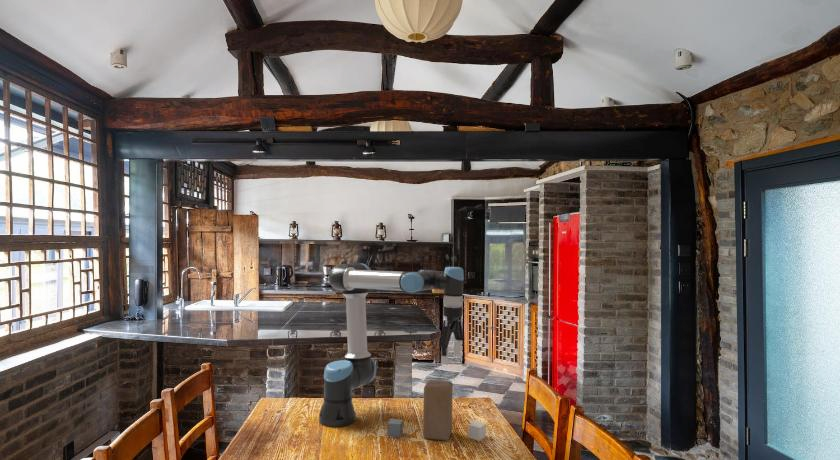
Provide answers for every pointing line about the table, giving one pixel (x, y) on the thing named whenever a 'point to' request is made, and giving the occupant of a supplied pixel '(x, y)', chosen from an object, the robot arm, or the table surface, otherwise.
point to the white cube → (477, 430)
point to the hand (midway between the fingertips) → (451, 360)
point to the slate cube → (395, 427)
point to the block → (437, 410)
